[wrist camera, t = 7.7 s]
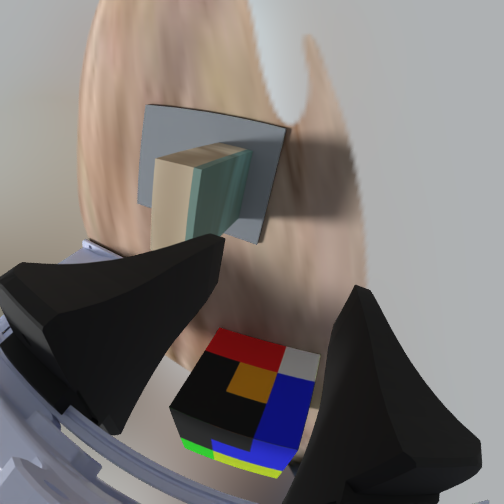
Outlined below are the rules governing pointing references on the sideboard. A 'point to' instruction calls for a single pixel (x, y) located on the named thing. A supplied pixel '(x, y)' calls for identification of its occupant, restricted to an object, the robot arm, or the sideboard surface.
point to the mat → (209, 132)
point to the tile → (197, 192)
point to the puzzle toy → (246, 402)
